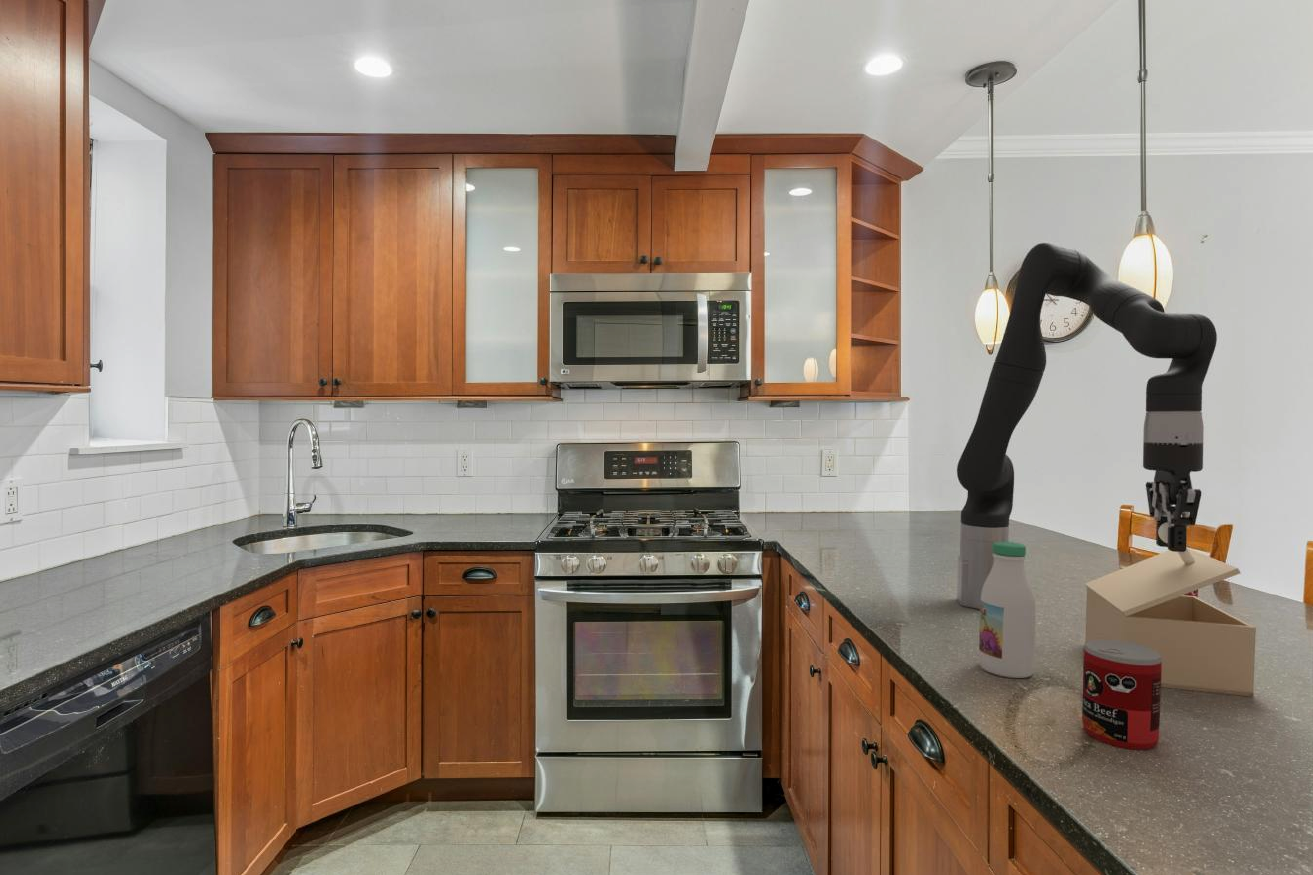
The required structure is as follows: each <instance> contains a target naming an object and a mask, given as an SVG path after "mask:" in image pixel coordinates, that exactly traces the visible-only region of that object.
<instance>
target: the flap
mask: <svg viewBox="0 0 1313 875" xmlns="http://www.w3.org/2000/svg"><path fill="white" fill-rule="evenodd" d="M1168 527H1169V526H1168V522H1166V523H1164V524H1162V525H1161V526H1160V527H1159V530H1158V534H1159V537H1160V538H1161V540H1162V541H1164V542H1165V543H1168ZM1240 574H1241V571H1240V569H1239V568H1238V567H1236V566H1234V565H1231V564H1229V563H1225V562H1223V561H1220V560H1218V559H1215V558H1213V557H1210V556H1208V555H1205V554H1203V553H1200V552H1198V551H1195V550H1193V549H1190V548H1188V547H1187V546H1186V551H1185V552H1173V551H1170V550H1168V549H1167V550H1166V551H1163V552H1160V553H1158V554H1156V555H1154V556H1151V557H1148V558H1146V559H1143V560H1141V561H1138V562H1136V563H1133V564H1131V565H1128V566H1125V567H1124V568H1120V569H1118V570H1116V571H1113V572H1111V573H1108V574H1105V575H1103V576H1100V577H1098V578H1095V579H1092V580H1089V581H1088V582H1085V583H1084V586H1085V587H1086V589H1087V588H1088V589H1089V590H1090V591H1092V592H1093V593H1094V594H1096V595H1097V596H1098V597H1100V598H1101V599H1103V600H1104V601H1105V602H1107V603H1108V604H1109V605H1111V606H1112V607H1113V608H1115V609H1116V610H1117V611H1119V612H1120V613H1122V614H1123V615H1124V616H1129V615H1131V614H1134V613H1137V612H1139V611H1142V610H1145V609H1147V608H1150V607H1152V606H1155V605H1158V604H1160V603H1163V602H1166V601H1168V600H1171V599H1174V598H1176V597H1179V596H1182V595H1184V594H1187V593H1190V592H1192V591H1195V590H1198V591H1199V590H1200V589H1202V588H1205V587H1208V586H1211V585H1214V584H1217V583H1218V582H1221V581H1224V580H1227V579H1229V578H1233V577H1234V576H1237V575H1240Z"/></svg>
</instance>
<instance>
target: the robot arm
mask: <svg viewBox="0 0 1313 875" xmlns="http://www.w3.org/2000/svg"><path fill="white" fill-rule="evenodd" d="M1016 280H1017V281H1016V286H1015V290H1014V294H1013V298H1012V302H1011V303H1012V304H1011V307H1010V310H1009V311H1010V312H1009V317H1008V319H1007V323H1006V326H1005V329H1004V333H1003V337H1002V340H1001V343H1000V346H999V348H998V351H997V354H996V356H995V358H994V362H993V365H992V368H991V371H990V374H989V376H988V381H987V385H986V388H985V391H984V394H983V397H982V400H981V403H980V408H979V411H978V414H977V418H976V420H975V423H974V427H973V429H972V431H971V434H970V436H969V438H968V440H967V442H966V444H965V447H964V449H963V451H962V453H961V455H960V457H959V459H958V463H957V467H956V476H957V479H958V482H959V483H960V485H961V486H962V487H963V489H965V490H966V491H967V497H966V500H965V504H964V506H963V508H962V509H961V512H960V534H959V536H960V537H959V538H960V539H959V540H960V541H959V555H958V557H957V586H956V587H957V588H956V589H957V590H956V591H957V592H956V600H957V601H958V603H959V605H960V606H961V607H967V608H972V609H977V610H980V605H981V594H982V589H983V585H984V583H985V581H986V579H987V577H988V575H989V574H990V572H991V569H992V567H993V563H994V557H993V556H992V555H993V543H995V542H1009V533H1010V532H1009V528H1010V527H1009V526H1010V516H1011V515H1012V514H1011V513H1012V510H1013V505H1014V493H1015V492H1014V490H1015V468H1014V465H1013V462H1012V459H1011V458H1010V457H1009V455H1007V449H1008V447H1009V443H1010V441H1011V440H1010V439H1011V437H1012V435H1013V432H1014V431H1015V429H1016V427H1017V426H1018V425H1019V423H1020V421H1021V420H1022V418H1023V417H1024V415H1025V414H1026V412H1027V410H1028V409H1029V407H1030V406H1031V404H1032V403H1033V401H1034V398H1035V397H1036V395H1037V392H1038V390H1039V387H1040V385H1041V382H1042V379H1043V376H1044V372H1045V370H1046V366H1047V352H1046V346H1045V341H1044V338H1043V333H1042V328H1041V313H1042V308H1043V304H1044V300H1045V297H1046V295H1049V296H1053V297H1064V298H1068V299H1072V300H1075V301H1078V302H1081V303H1083V304H1085V305H1088V307H1090V311H1091V312H1092V313H1093V315H1094V316H1095V317H1096V318H1097V319H1099V321H1101V322H1102V323H1104V324H1106V325H1107V326H1109V327H1111V328H1112V329H1114V330H1115V331H1117V332H1119V333H1121V334H1122V336H1123V337H1124V339H1125V340H1126V341H1127V342H1128V344H1129V345H1130V346H1131V347H1132V349H1134V350H1135V352H1137V353H1139V354H1141V355H1143V356H1145V357H1148V358H1152V359H1171V362H1170V365H1169V367H1168V369H1167V371H1166V372H1165V373H1159V374H1156V375H1154V376H1151V377H1150V378H1148V380H1147V383H1146V388H1145V415H1144V416H1145V417H1144V422H1143V437H1142V438H1143V440H1142V441H1143V443H1142V444H1143V446H1142V467H1143V469H1145V470H1148V471H1155V473H1154V477H1153V481H1147V482H1146V483H1145V491H1146V497H1147V502H1148V504H1147V505H1148V512H1149V517H1150V518H1153V521H1154V523H1156V525H1155V526H1156V531H1155V533H1156V538H1155V544H1156V545H1157V546H1158V547H1163V548H1167V551H1168V550H1170V551H1173V552H1185V551H1186V547H1187V537H1188V531H1187V529H1189V528H1190V526H1195V525H1196V522H1197V516H1198V512H1199V508H1200V502H1201V498H1202V490H1201V489H1200V488H1193V485H1192V480H1191V473H1192V472H1193V473H1196V472H1201V471H1203V468H1204V431H1205V430H1204V421H1203V412H1202V410H1203V409H1202V408H1203V384H1204V382H1205V379H1206V376H1207V374H1208V371H1209V368H1210V364H1211V362H1212V358H1213V356H1214V353H1215V351H1216V350H1215V349H1216V347H1217V340H1218V338H1217V337H1218V336H1217V334H1218V333H1217V330H1216V327H1215V324H1214V323H1213V321H1212V320H1211V319H1210V318H1209V317H1208V316H1206V315H1204V314H1200V313H1199V314H1198V313H1169V312H1168V313H1167V312H1165V309H1164V306H1163V304H1162V303H1161V302H1160V301H1159V300H1158V299H1156V298H1155V297H1153V296H1151V295H1150V294H1147V293H1146V292H1144V291H1141V290H1140V289H1137V288H1135V287H1133V286H1131V285H1129V284H1128V283H1125V282H1122V281H1121V280H1119V279H1117V278H1114V277H1113V276H1111V275H1110V274H1108V273H1107V272H1106V271H1104V269H1102V268H1101V267H1100V266H1099V265H1098V264H1096V263H1095V262H1094V261H1093V260H1092V259H1091V258H1090V257H1089V256H1087V255H1086V254H1085V253H1083V252H1081V251H1079V250H1077V249H1073V248H1071V247H1066V246H1062V245H1058V244H1055V243H1050V242H1040V243H1037V244H1036V245H1034V246H1033V247H1032V248H1030V250H1029V251H1028V252H1027V254H1026V256H1025V257H1024V259H1023V261H1022V263H1021V266H1020V269H1019V272H1018V276H1017V279H1016ZM1166 522H1168V526H1169V527H1168V543H1165V542H1164V541H1162V540H1161V538H1160V537H1159V534H1158V530H1159V527H1160V526H1161V525H1162V524H1164V523H1166Z"/></svg>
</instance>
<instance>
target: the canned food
mask: <svg viewBox="0 0 1313 875" xmlns="http://www.w3.org/2000/svg"><path fill="white" fill-rule="evenodd" d="M1082 660H1083V661H1082V662H1083V665H1082V666H1083V667H1082V670H1083V671H1082V700H1081V701H1082V703H1081V704H1082V705H1081V706H1082V707H1081V708H1082V709H1081V710H1082V711H1081V712H1082V713H1081V722H1082V727H1083V730H1084V732H1086V734H1088V736H1090V737H1092V738H1093V739H1095V740H1097V741H1099V742H1102V743H1103V744H1104V743H1105V744H1106V745H1109V746H1113V747H1117V748H1123V749H1125V750H1126V749H1127V750H1134V751H1135V750H1137V751H1143V750H1150V749H1152V748H1153V749H1154V747H1156V746H1157V744H1158V742H1159V739H1160V724H1161V723H1160V722H1161V700H1162V699H1161V698H1162V697H1161V695H1162V694H1161V693H1162V687H1161V674H1162V660H1161V655H1160V654H1159V653H1158V652H1157V651H1155V650H1153V649H1150V648H1148V647H1145V646H1142V645H1138V644H1134V643H1130V642H1124V641H1117V640H1106V639H1097V640H1090V641H1087V642H1085V643H1084V647H1083V658H1082Z"/></svg>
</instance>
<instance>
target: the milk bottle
mask: <svg viewBox="0 0 1313 875" xmlns="http://www.w3.org/2000/svg"><path fill="white" fill-rule="evenodd" d="M1026 547H1027V546H1026V545H1025V544H1022V543H1018V542H1013V541H1008V542H995V543H993V555H992V556H993V557H994V563H993V567H992V569H991V572H990V574H989V575H988V577H987V579H986V581H985V583H984V585H983V589H982V594H981V605H980V609H979V633H978V634H979V638H978V639H979V640H978V646H979V647H978V664H979V666H980V667H981V669H982V670H985V671H986V672H988V673H990V674H993V675H995V676H1000V677H1004V678H1013V679H1024V678H1029V677H1031V676H1033V674H1034V671H1035V654H1036V653H1035V651H1036V596H1035V592H1034V589H1033V588H1034V587H1032V584H1031V582H1030V579H1029V577H1028V574H1027V572H1026V568H1025V560H1026V555H1027V549H1026Z"/></svg>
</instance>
